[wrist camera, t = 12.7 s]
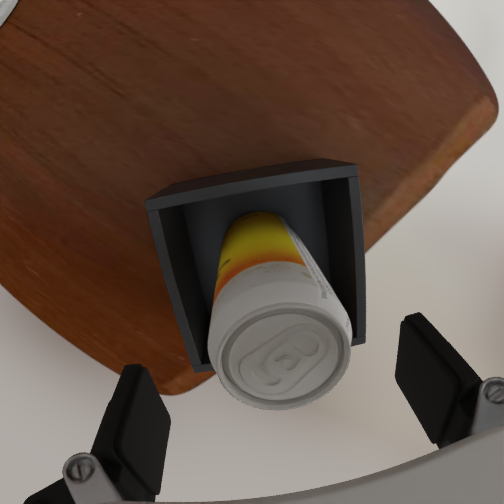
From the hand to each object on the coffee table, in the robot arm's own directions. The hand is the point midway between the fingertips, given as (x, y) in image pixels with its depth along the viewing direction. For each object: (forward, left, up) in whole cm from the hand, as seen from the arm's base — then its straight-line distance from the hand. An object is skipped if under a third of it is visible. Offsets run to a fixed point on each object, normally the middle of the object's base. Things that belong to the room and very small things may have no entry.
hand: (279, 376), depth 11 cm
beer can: (0, 0, -16) cm, 16 cm away
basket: (0, 0, -17) cm, 17 cm away
